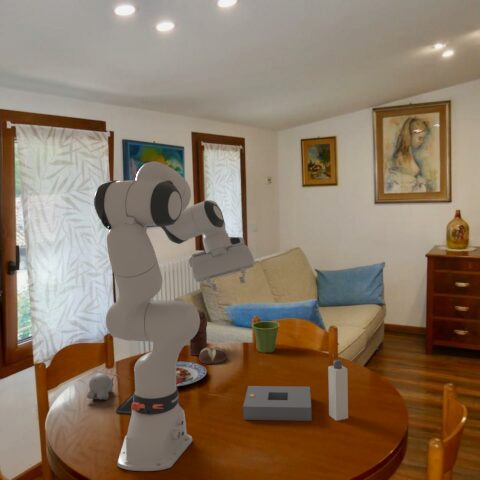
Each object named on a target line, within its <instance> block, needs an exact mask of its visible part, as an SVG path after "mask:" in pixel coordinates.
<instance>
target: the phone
mask: <svg viewBox="0 0 480 480" xmlns="http://www.w3.org/2000/svg"><path fill="white" fill-rule="evenodd" d="M133 397H134V392H133V393H132V394H131V395H130V396H129V397H128V398H127V399H125V401H123V403H121V404H120V405H119V406H118V407H117V408H116V410H115V411H116V412H115V413H116V414H122V415H131V414H132V408H131V406H132V403H133Z"/></svg>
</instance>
